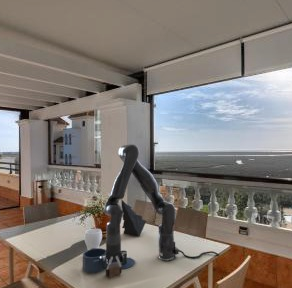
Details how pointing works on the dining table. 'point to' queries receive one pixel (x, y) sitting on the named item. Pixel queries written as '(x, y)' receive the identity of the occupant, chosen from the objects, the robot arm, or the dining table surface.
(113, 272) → the block
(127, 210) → the decorative tree
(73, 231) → the dining table surface
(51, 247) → the dining table surface
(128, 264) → the lid
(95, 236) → the white vase
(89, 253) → the pot
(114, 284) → the dining table surface
